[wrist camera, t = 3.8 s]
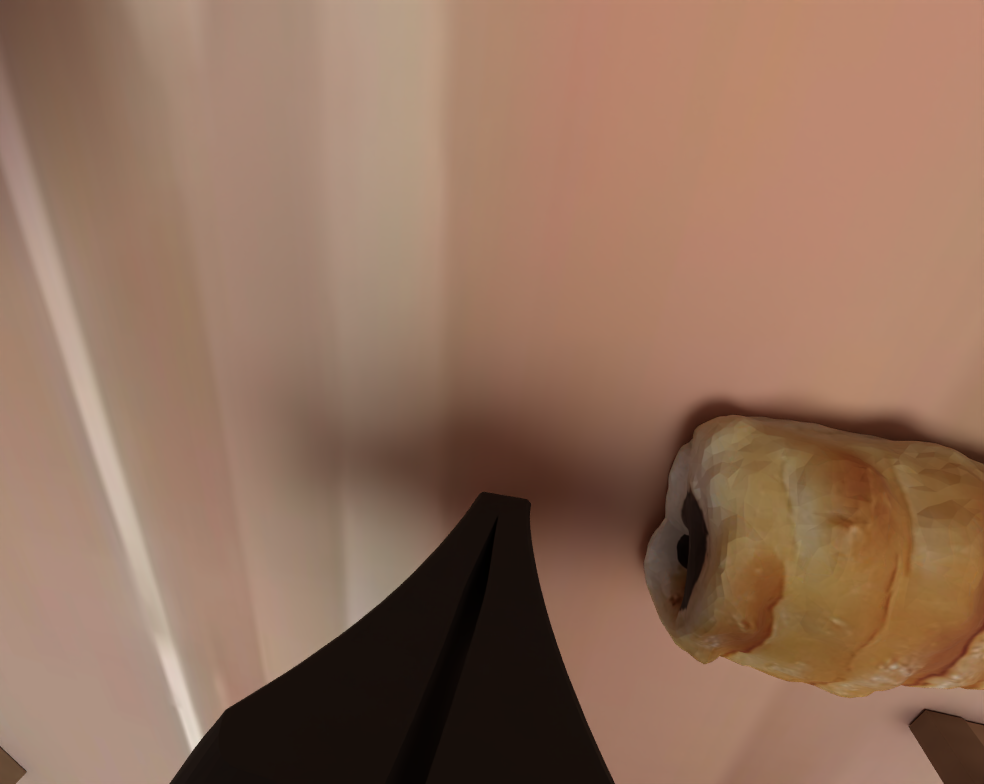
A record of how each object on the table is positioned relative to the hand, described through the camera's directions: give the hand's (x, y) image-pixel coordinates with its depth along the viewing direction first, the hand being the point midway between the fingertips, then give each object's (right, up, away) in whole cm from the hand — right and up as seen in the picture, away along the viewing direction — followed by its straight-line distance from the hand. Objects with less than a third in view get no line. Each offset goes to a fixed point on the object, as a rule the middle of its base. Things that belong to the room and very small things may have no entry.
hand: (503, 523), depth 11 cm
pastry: (+8, +1, 0) cm, 8 cm away
